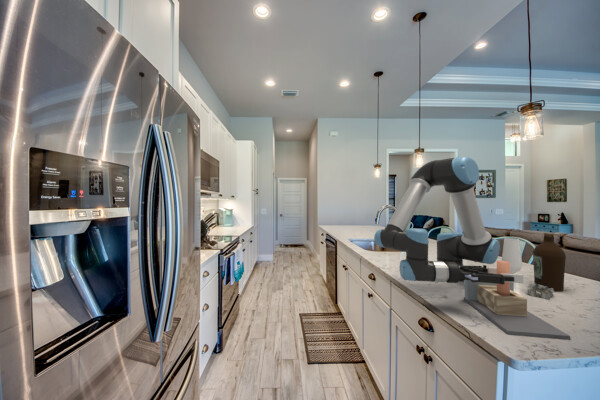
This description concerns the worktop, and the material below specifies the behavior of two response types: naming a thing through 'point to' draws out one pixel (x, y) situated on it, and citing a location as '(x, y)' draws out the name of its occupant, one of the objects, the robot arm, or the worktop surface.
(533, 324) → the mat
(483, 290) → the socket block
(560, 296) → the worktop surface
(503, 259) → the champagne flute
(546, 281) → the olive oil
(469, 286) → the wall
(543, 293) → the egg carton
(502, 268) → the dowel
